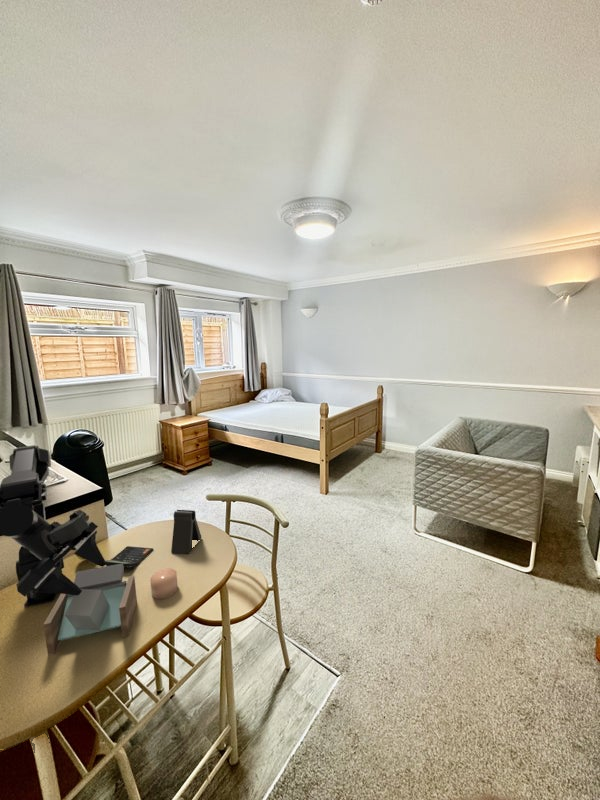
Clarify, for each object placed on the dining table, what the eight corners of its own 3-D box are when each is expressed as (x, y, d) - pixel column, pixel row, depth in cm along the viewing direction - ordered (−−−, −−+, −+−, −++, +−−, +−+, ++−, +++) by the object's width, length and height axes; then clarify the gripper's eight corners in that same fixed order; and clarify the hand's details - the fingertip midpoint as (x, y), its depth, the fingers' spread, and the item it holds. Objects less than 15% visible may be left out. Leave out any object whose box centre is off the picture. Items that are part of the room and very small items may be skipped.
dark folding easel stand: (189, 554, 104) (186, 518, 102) (171, 553, 105) (168, 517, 103) (201, 538, 112) (199, 505, 111) (185, 537, 113) (182, 504, 112)
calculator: (153, 550, 107) (152, 542, 106) (129, 574, 95) (128, 564, 95) (127, 548, 108) (126, 540, 108) (100, 571, 97) (99, 562, 97)
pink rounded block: (150, 601, 84) (148, 587, 84) (153, 584, 90) (151, 571, 90) (177, 595, 86) (175, 581, 85) (178, 579, 92) (177, 566, 92)
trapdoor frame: (48, 655, 70) (43, 624, 69) (67, 616, 80) (63, 588, 79) (128, 636, 74) (125, 606, 73) (137, 601, 84) (134, 575, 83)
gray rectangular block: (75, 629, 73) (64, 614, 68) (87, 604, 77) (77, 588, 72) (99, 630, 73) (90, 616, 68) (109, 605, 77) (101, 590, 72)
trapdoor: (59, 641, 72) (55, 637, 70) (74, 577, 82) (71, 572, 80) (121, 626, 75) (119, 622, 74) (128, 566, 85) (126, 562, 84)
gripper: (23, 530, 61) (91, 582, 63) (85, 488, 80) (136, 530, 81) (-14, 571, 62) (54, 622, 64) (55, 521, 80) (107, 561, 82)
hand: (93, 578), depth 73 cm, fingers open, 9 cm apart
